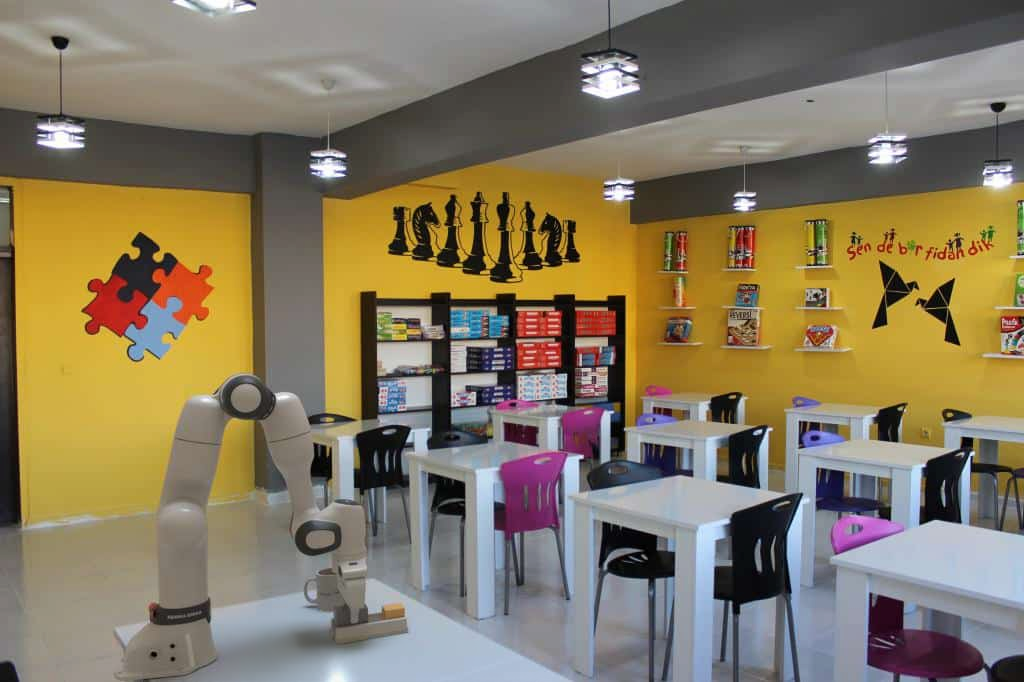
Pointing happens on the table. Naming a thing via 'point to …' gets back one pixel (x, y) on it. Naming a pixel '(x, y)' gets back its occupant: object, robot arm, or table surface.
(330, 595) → the mug
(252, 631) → the table surface
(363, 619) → the block
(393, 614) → the rail
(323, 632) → the table surface
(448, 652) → the table surface
